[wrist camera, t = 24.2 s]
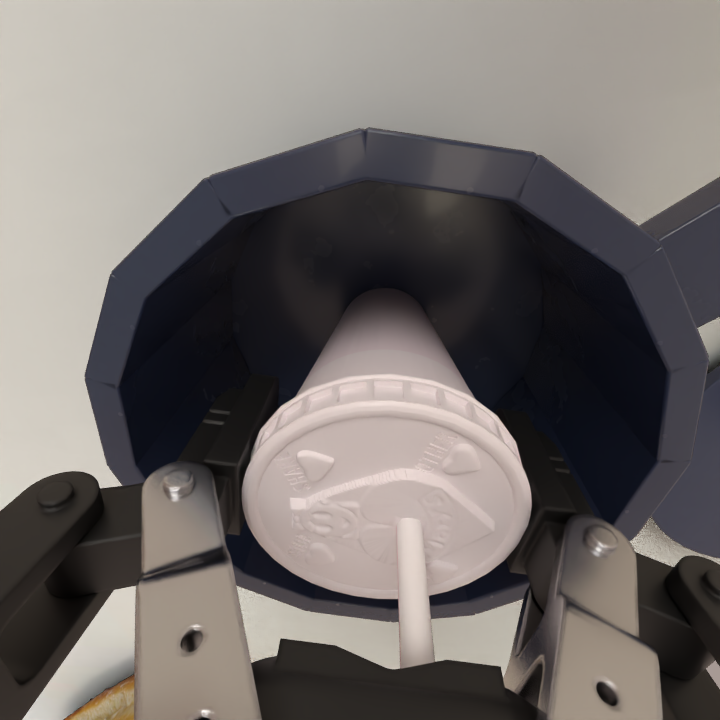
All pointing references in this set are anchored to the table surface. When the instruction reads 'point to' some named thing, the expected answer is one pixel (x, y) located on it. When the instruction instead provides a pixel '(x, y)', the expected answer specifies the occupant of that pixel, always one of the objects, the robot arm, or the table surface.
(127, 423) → the pot
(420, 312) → the smoothie
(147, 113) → the table surface
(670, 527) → the lid
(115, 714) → the bread
